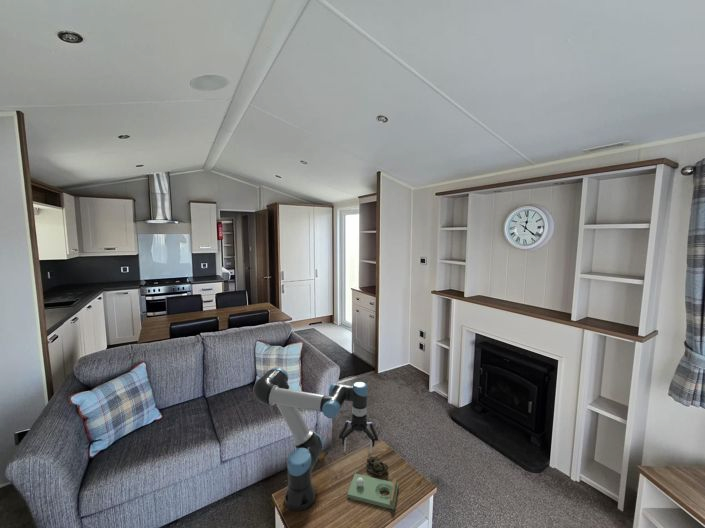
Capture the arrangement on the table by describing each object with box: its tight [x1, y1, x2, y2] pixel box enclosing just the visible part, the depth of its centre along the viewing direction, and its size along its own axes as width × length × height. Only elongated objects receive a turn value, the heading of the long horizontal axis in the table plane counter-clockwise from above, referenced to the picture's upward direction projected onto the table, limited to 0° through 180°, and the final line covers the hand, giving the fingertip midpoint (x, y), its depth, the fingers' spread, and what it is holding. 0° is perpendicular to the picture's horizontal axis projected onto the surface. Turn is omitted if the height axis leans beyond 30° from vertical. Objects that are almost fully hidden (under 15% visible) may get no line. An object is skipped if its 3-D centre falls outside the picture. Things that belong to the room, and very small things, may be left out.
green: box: [346, 473, 399, 510], centre depth 163 cm, size 24×14×4 cm, turn 74°
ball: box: [356, 477, 364, 487], centre depth 165 cm, size 4×4×4 cm
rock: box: [365, 455, 389, 477], centre depth 178 cm, size 13×10×10 cm
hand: (357, 451), depth 163 cm, fingers open, 13 cm apart
